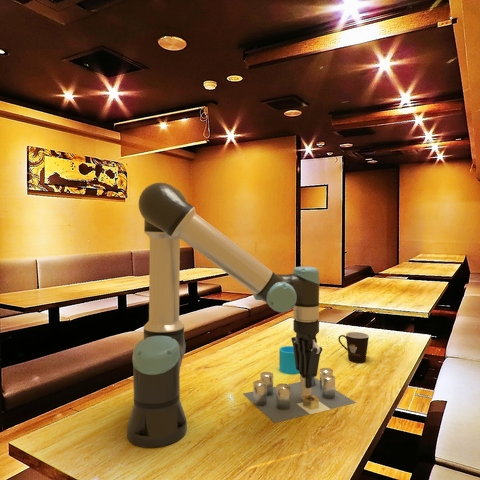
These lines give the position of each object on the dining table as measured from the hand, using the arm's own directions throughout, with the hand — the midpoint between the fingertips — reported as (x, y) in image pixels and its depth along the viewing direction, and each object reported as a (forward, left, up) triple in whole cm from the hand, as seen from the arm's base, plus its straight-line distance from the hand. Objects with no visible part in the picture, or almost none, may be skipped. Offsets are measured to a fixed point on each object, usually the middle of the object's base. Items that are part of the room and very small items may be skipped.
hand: (305, 396), depth 118 cm
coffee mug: (+39, +24, -2) cm, 46 cm away
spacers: (-1, +5, -1) cm, 5 cm away
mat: (-1, +3, -2) cm, 3 cm away
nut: (0, -3, -1) cm, 3 cm away
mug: (+11, +24, -2) cm, 26 cm away
